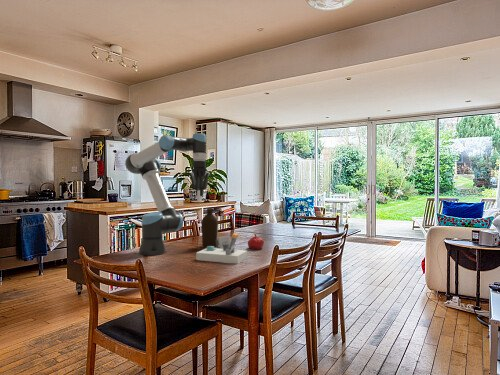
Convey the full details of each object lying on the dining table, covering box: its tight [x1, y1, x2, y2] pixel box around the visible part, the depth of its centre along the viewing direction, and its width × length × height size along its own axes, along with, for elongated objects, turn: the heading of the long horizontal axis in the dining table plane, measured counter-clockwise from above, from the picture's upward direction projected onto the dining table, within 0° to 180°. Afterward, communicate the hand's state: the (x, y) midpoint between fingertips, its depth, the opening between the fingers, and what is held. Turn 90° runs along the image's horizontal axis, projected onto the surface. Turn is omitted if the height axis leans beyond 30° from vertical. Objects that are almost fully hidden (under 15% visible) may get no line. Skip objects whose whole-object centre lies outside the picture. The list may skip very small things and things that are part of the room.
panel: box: [195, 247, 248, 265], centre depth 185 cm, size 24×14×7 cm, turn 70°
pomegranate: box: [247, 233, 264, 250], centre depth 213 cm, size 10×10×9 cm
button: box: [207, 246, 215, 251], centre depth 189 cm, size 4×4×5 cm
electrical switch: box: [215, 235, 231, 249], centre depth 203 cm, size 9×5×9 cm, turn 141°
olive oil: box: [200, 207, 219, 249], centre depth 219 cm, size 11×11×25 cm
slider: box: [223, 244, 229, 250], centre depth 188 cm, size 2×3×3 cm
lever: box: [229, 232, 240, 252], centre depth 179 cm, size 2×4×10 cm, turn 160°
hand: (199, 201), depth 195 cm, fingers closed
